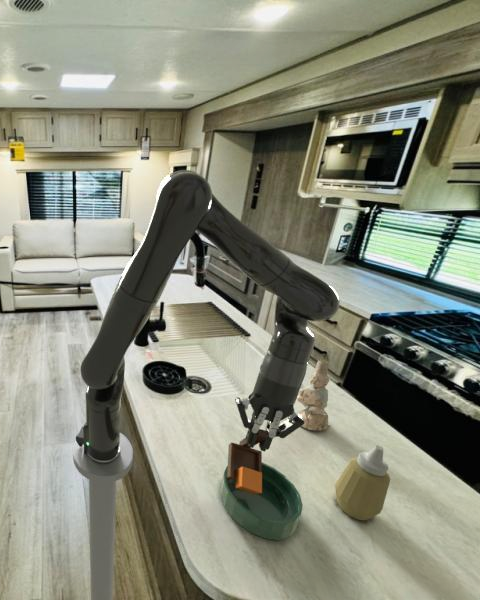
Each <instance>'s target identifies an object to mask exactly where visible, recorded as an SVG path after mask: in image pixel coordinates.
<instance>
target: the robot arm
mask: <svg viewBox="0 0 480 600" xmlns="http://www.w3.org/2000/svg"><path fill="white" fill-rule="evenodd" d="M195 232H198V233H199V234H200V235H202V236H203V237H204V238H205V239H207V240H208V241H209V242H210V243H211V244H212V245H213V246H214V247H216V248H217V250H219V252H221V254H222V255H224V257H226V259H227V260H229V262H231V264H233V265H234V267H236V268H237V270H239V271H240V272H241V273H243V274H244V275H245V276H246V277H247V278H248V279H249V280H251V281H252V282H253V283H255V285H257V286H258V287H260V288H261V289H263V290H265V291H266V292H269V293H271V294H273V295H275V296H276V299H275V300H276V301H275V306H274V318H273V319H274V321H273V322H274V324H273V325H274V326H273V327H274V330H273V334H272V336H271V339H270V343H269V346H268V348H267V350H266V354H265V355H264V357H263V360H262V362H261V364H260V366H259V371H258V373H257V374H258V375H257V378H256V381H255V384H254V387H253V390H252V393H250V394H249V395H248V397H246V398H245V397H244V398H241V397H238V396H237V397H235V399H234V402H235V404H236V407H237V410H238V413H239V417H240V420H241V422H242V425H243V427H244V428H246V429H247V432H246V435H245V438H246V441H247V444H248V445H249V447H251V448H252V449H254V447H255V446H254V444H255V441H256V438H257V432H258V430H259V429H261V426H263V424H264V422H265V421H266V425H265V431H268V438H267V439H265V440H263V441H261V442H260V443H258V447H259V451H262V452H263V453H264V452H266V451H268V450H269V449H270V448H271V444H272V442H273V439H274V438H279V439H285V438H286V437H288V436H289V435H291V434H292V433H294V432H295V431H296V430H298V429H299V428H300V427H302V425H303V424H304V423H305V422H304V420H303V419H302V417H301V416H300V413H297V412H296V411H295V407H294V405H295V404H296V401H297V397H298V396H299V391H300V390H301V387H302V385H303V383H304V380H305V377H306V373H307V369H308V368H307V367H308V364H309V361H310V359H311V355H312V353H313V350H314V347H315V344H316V337H315V335H314V334H313V333H312V332H311V330H310V329H309V328H308V323H309V322H316V323H317V322H325V321H327V320H330V319H331V318H333V317H334V316H336V314H337V313H338V311H339V310H340V297H339V295H338V293H337V292H336V290H335V289H334V288H333V287H332V286H330V285H329V284H328V283H327V282H326V281H324V280H323V279H320V278H319V277H318V276H316V275H314V274H313V273H311V272H309V271H308V270H306V269H304V268H302V267H301V266H299V265H298V264H296V263H295V262H294V261H293V260H292V259H291V258H290V257H289V256H287V254H285V253H284V252H282V251H281V250H280V249H279V248H278V247H276V245H274V244H273V243H272V242H270V241H269V240H267V239H266V238H265V237H264V236H262V235H261V234H259V233H258V232H257V231H255V230H254V229H252V228H251V227H250V226H248V225H247V224H245V222H243V221H242V220H240V219H239V218H238V217H236V216H235V214H233V213H232V212H231V211H230V210H228V209H227V208H226V207H225V206H224V205H223V204H222V203H221V202H220V201H219V200H218V198H217V197H216V196H215V195H214V194H213V190H212V187H211V184H210V183H209V182H208V180H207V179H206V178H205V177H204V176H202V175H201V174H200V173H198V172H196V171H193V170H189V169H181V170H176V171H174V172H171V173H169V174H168V175H166V177H164V179H163V180H162V181H161V183H160V184H159V186H158V189H157V193H156V203H155V205H154V210H153V213H152V215H151V219H150V222H149V225H148V227H147V230H146V233H145V236H144V238H143V239H142V242H141V244H140V246H139V247H138V249H137V251H136V252H135V253H134V254H133V256H132V258H131V259H130V261H128V263H127V264H126V266H125V268H124V270H123V271H122V274H121V276H120V277H119V279H118V282H117V284H116V287H115V289H114V291H113V293H112V295H111V298H110V300H109V303H108V306H107V308H106V311H105V314H104V317H103V319H102V322H101V325H100V328H99V331H98V333H97V335H96V338H95V340H94V342H93V344H92V345H91V347H90V348H89V350H88V351H87V353H86V355H85V356H84V358H83V359H82V361H81V363H80V376H81V379H82V381H83V382H84V384H85V385H86V390H85V394H84V395H85V397H84V398H85V423H84V424H83V426H81V428H80V430H79V432H78V433H77V434H76V436H75V441H76V442H77V443H78V445H79V446H80V447H82V446H83V445H84V454H87V455H88V457H89V458H90V459H91V460H92V461H94V462H96V463H99V464H108V463H111V462H113V461H114V460H116V459H117V457H118V456H119V452H120V447H119V446H120V443H119V441H120V442H121V439H120V433H121V411H122V409H121V408H122V407H121V405H122V404H121V403H122V402H121V401H122V395H123V391H124V386H125V385H124V384H125V371H126V369H125V368H126V360H125V355H126V354H127V351H128V350H129V348H130V346H131V345H132V343H133V342H134V340H136V338H137V336H138V335H139V334H140V333H141V331H142V329H144V326H145V325H146V323H147V322H148V320H149V319H150V317H151V315H152V314H153V312H154V310H155V309H156V306H157V304H158V302H159V301H160V299H161V298H162V297H161V296H162V295H163V292H164V290H165V289H166V286H167V284H168V282H169V280H170V278H171V275H172V274H173V271H174V268H175V267H176V264H177V261H178V259H179V257H180V256H181V254H182V252H183V251H184V249H185V247H186V246H187V245H188V244H189V242H190V240H191V238H192V237H193V236H194V235H195ZM308 321H309V322H308ZM249 405H250V407H251V409H252V414H251V418H250V420H249V418H248V415H247V410H248V409H249ZM285 419H286V420H285ZM82 444H83V445H82Z"/></svg>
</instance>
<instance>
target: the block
mask: <svg viewBox="0 0 480 600" xmlns="http://www.w3.org/2000/svg"><path fill="white" fill-rule="evenodd" d="M236 489H239V490H242V491H245V492H248V493H251V494H254V495H256V494H260V493H262V473H261V472H258V471H255V470H252V469H249V468H246V467H240V468H238V469H236Z"/></svg>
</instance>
